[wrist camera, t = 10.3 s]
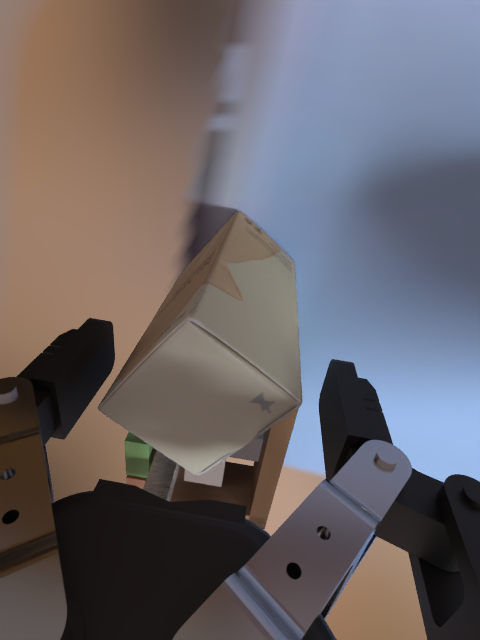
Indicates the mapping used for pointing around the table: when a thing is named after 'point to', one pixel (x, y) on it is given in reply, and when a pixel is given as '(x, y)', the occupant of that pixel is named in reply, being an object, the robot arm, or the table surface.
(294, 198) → the table surface
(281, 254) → the box
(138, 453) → the brown wooden open box
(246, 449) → the grey blocky piece
